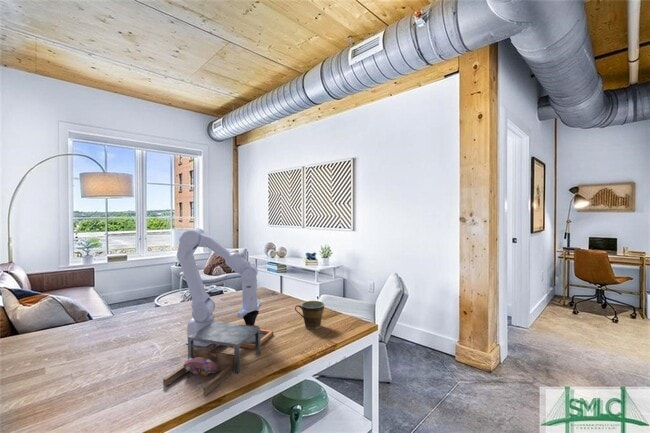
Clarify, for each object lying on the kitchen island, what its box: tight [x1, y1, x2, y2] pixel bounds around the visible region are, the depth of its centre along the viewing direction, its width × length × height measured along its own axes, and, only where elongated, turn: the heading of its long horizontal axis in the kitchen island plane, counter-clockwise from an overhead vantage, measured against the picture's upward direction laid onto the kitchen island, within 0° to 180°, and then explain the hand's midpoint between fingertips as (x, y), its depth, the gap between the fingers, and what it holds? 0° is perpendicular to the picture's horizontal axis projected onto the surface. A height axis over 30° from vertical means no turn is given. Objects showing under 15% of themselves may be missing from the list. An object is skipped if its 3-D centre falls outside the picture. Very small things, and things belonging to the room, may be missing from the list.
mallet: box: [162, 322, 260, 396], centre depth 103 cm, size 15×34×6 cm, turn 163°
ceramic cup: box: [294, 300, 325, 331], centre depth 133 cm, size 13×10×10 cm
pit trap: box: [240, 328, 274, 351], centre depth 121 cm, size 13×14×2 cm
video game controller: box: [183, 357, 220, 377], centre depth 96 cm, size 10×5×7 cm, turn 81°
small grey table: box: [187, 320, 261, 375], centre depth 105 cm, size 19×14×10 cm
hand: (250, 329), depth 120 cm, fingers closed
